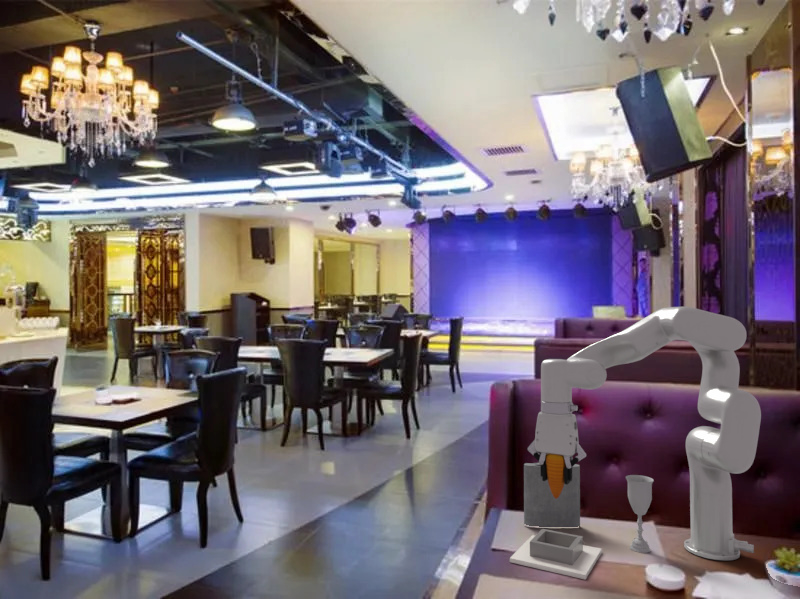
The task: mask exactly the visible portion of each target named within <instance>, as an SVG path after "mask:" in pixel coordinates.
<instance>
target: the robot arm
mask: <svg viewBox="0 0 800 599" xmlns="http://www.w3.org/2000/svg"><path fill="white" fill-rule="evenodd" d="M746 340H747V330H746V327H745V326H744V325H743V323H742V322H740V321H739V320H738V319H736V318H734V317H731V316H728V315H723V314H719V313H715V312H712V311H711V312H710V311H707V310H703V309H701V308H700V309H699V308H696V307H695V308H694V307H692V306H691V307H690V306H669V307H662V308H659V309H657V310H656V311H654V312H652V313H651V314H649V315H647V316H646V317H644V318H642V319H641V320H638V321H637V322H635V323H634V324H632V325H630V326H629V327H627V328H625V329H623V330H622V331H620V332H617V333H616V334H612V335H610V336H609V337H607V338H604V339H602V340H600V341H596V342H595V343H593V344H590V345H588V346H586V347H584V348H583V349H581V350H579V351H578V352H576V353H574V354H573V355H571V356H570V357H568V358H567V359H562V358H548V359H544V360H542V362H541V365H540V411H539V412H538V414H537V417H536V425H535V434H534V436H535V437H534V440H533V441H532V442H531V443H530V444H529V446H527V451H528V452H529V453H530V454H531V455H532V456H533V457H534V458H535V460H536V461H538V462H537V463H539V464H540V465H541V477H542V481H546V480H547V479H548V478H547V471H546V455H547V454H555V455H562V456H564V459H565V463H566V468H564V484H566V485H568V484H569V483H570V481H572V467H573V466H574V465H575V464H578V463H579V462H581V460H583V459H585V458H586V457H587V453H586V452H585V450H584V449H583V447H582V446H581V445H580V444H579V443H580V442H579V430H578V423H577V417H576V414H573V412H575V411H576V412H577V411H578V409H579V407H578V406H579V405H577V404H574V403H573V400H572V398H573V397H572V396H573V391H572V390H573V388H575V389H582V390H596V389H599V388H600V387H601V386H603V385H604V384H605V383H606V380H607V378H608V377H607V376H608V374H607V369H609V368H611V367H615V366H620V365H625V364H630V363H631V364H632V363H635V362H639V361H641V360H643V359H645V358H646V357H648V356H649V355H651V354H653V353H654V352H656V351H658V350H660V349H661V348H663V347H665V346H667V345H668V344H670V343H671V342H674V341H686V342H688V343H689V344H690V345H691V347H692V348H694V349H695V351H696V353H697V354H698V356H699V358H700V360H701V364H702V365H701V366H702V373H701V380H700V385H699V390H698V391H699V393H698V399H697V411H698V413H699V415H700V417H702V418H703V419H704V420H707V421H710V422H711V423H715V424H719V425H720V428H716V427H713V426H706V425H701V426H697V427H695V428H693V429H692V430H690V431H689V432H688V434H687V436H686V439H685V452H686V456H687V462H688V463H687V464H688V467H689V468H688V469H689V501H690V502H689V507H690V509H689V511H690V512H689V513H690V514H689V515H690V522H689V523H690V537H689V538H687V539H685V540H684V542H683V546H684V548H685V550H687V551H688V552H689V553H692V554H693V555H695V556H698V557H701V558H705V559H709V560H713V561H724V562H725V561H734V560H735V561H736V560H737V559H739V558H740V556H741V551H743V552H746V553H752V554H755V551H754V550H755V549H754V548H755V546H754V544H751V543H749V542H748V541H744V540H738V538H735V533H733V487H732V486H733V485H732V478H731V474H735V475H736V474H739V475H740V474H742V473H745V472H747V471H748V470H749V469H750V468H751V466H753V464H754V460H755V458H756V453H757V449H758V448H757V447H758V441H759V435H760V426H761V420H762V410H761V406H760V403H759V401H758V400H757V398H756V397H755V396H754V395H753V394H752V393H750V392H749V391H746V390H744V389H739V386H740V385H739V384H740V383H739V382H740V375H741V374H740V369H741V368H740V363H739V362H740V361H739V358H738V357H737V355H736V354H737V353H735V351H737V350H739V349H740V348H742V347H743V346H744V345H745V343H746ZM575 454H577V455H576V456H575V457H573V456H574V455H575Z"/></svg>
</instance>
